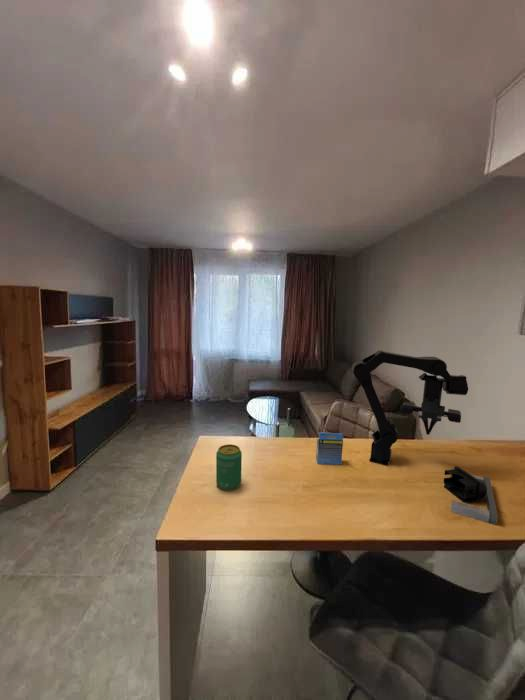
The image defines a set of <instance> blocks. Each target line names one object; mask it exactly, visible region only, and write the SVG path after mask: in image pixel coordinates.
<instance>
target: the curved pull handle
mask: <svg viewBox="0 0 525 700" xmlns="http://www.w3.org/2000/svg"><path fill="white" fill-rule="evenodd" d="M471 475H472V476H474V477H475V478H477V479H478V480H480V481H481V482H483V483H484V484H485V485H486V487H487V493H486V495H485V497H484V498H485V504H486V509H484V508H481V507H477V506H474V505H470V504H468V503H463V502H460V501H456V500H451V504H450V512H451V513H453V514H454V513H455V514H458V515H460V516H464V517H467V518H471V519H474V520H478V521H480V522H484V523H488V524H491V525H495V526H496V525H497V522H498V516H499V515H498V511H497V510H498V509H497V505H496V501H495V497H494V491H493V486H492V482H491V478H490V477H489V476H479V475H475V474H474V475H473V474H471ZM450 477H452V475H450Z"/></svg>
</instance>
